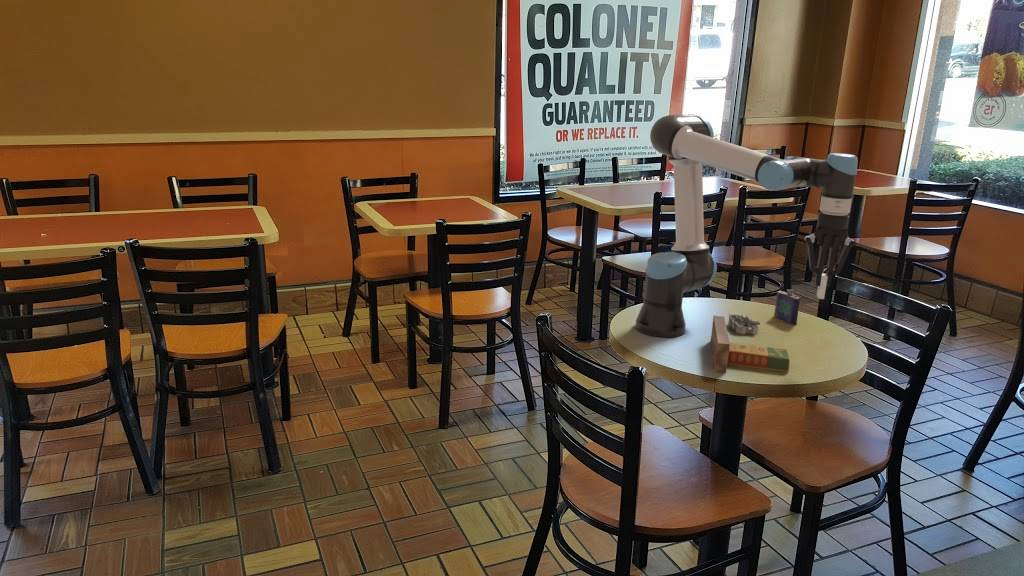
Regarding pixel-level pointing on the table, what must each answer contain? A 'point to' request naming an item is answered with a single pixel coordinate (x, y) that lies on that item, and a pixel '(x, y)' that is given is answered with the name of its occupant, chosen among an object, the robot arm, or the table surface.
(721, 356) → the board
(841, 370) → the table surface
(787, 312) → the flask
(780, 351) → the carton
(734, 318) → the egg carton
